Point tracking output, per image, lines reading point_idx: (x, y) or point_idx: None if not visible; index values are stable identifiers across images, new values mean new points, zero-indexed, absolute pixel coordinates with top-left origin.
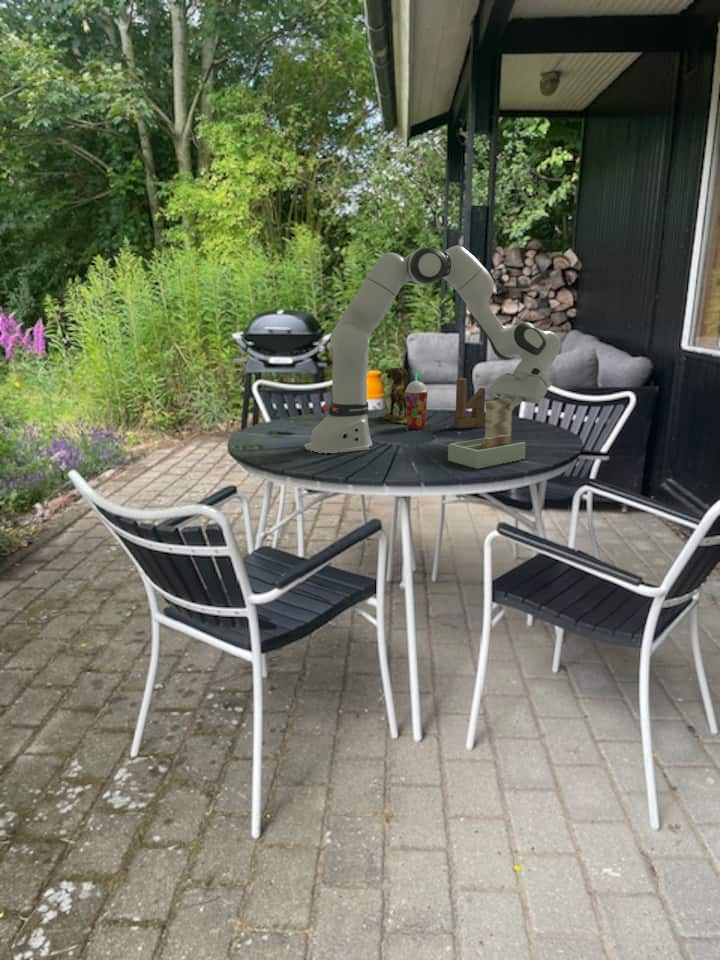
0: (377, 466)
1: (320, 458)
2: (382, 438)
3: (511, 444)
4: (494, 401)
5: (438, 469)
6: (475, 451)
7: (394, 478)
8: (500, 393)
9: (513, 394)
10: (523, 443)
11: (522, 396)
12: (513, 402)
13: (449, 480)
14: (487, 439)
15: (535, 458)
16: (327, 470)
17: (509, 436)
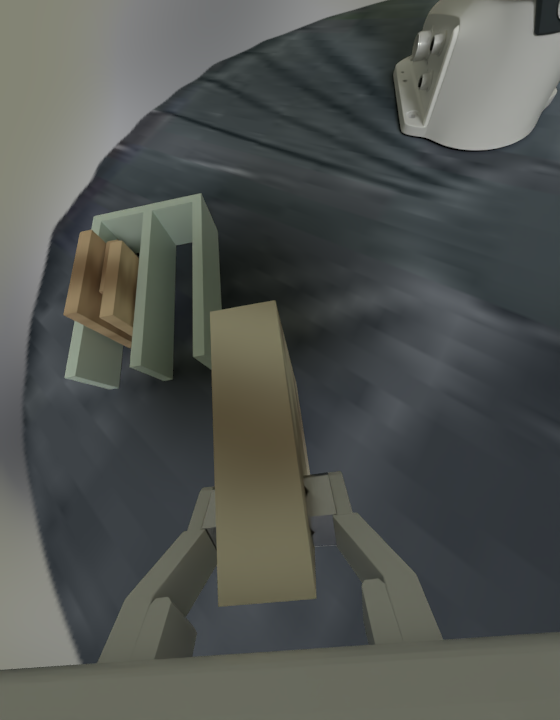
0: (254, 122)
1: (364, 66)
2: (551, 190)
3: (81, 324)
4: (217, 342)
5: (171, 192)
6: (103, 216)
7: (171, 126)
8: (476, 641)
9: (178, 660)
10: (67, 368)
11: (23, 669)
12: (175, 546)
13: (105, 182)
14: (84, 232)
15: (97, 423)
16: (274, 67)
17: (68, 311)
